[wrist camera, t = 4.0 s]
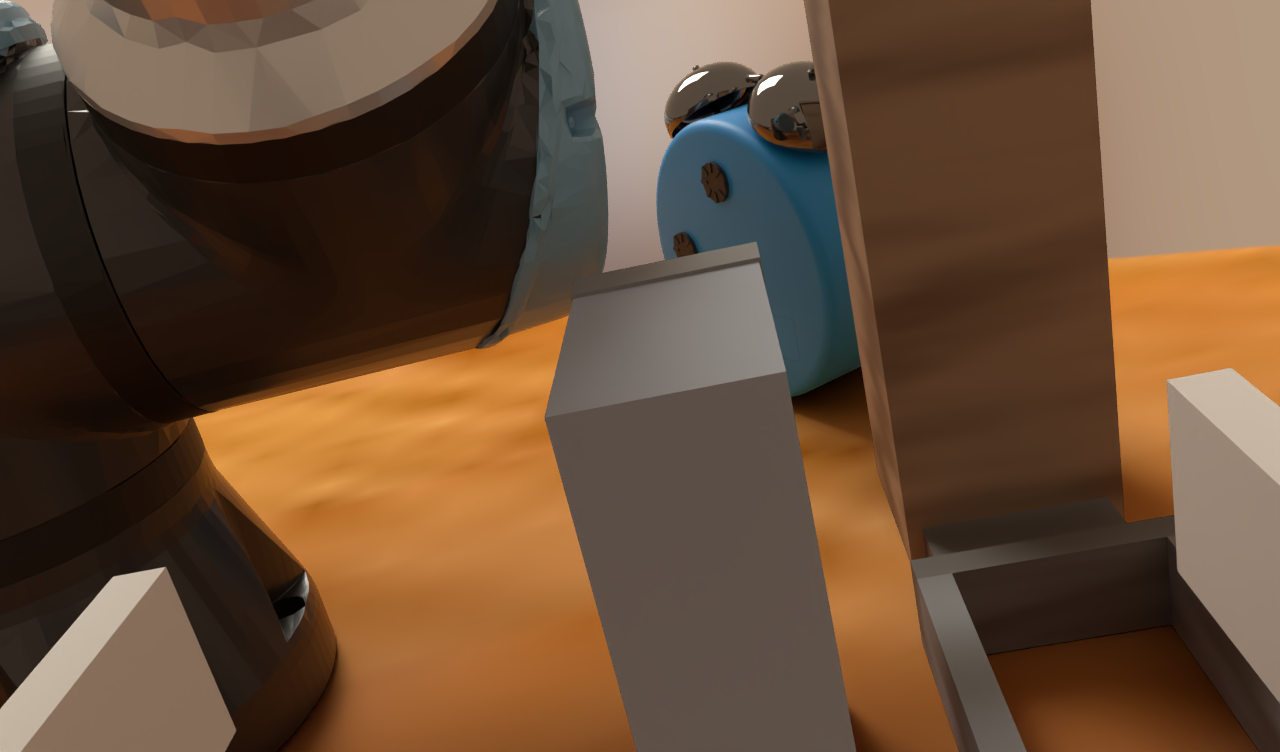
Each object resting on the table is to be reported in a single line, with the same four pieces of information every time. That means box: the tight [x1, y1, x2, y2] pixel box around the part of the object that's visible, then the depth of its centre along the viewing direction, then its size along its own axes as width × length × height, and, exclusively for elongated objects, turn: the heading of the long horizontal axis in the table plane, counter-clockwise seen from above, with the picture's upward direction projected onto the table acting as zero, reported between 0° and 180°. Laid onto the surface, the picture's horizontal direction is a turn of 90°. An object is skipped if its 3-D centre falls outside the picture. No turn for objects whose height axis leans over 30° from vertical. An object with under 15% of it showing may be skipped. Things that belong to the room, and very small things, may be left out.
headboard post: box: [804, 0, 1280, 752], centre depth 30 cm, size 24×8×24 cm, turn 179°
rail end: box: [545, 242, 856, 752], centre depth 27 cm, size 8×5×14 cm, turn 179°
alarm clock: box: [657, 61, 861, 397], centre depth 52 cm, size 13×6×15 cm, turn 31°
